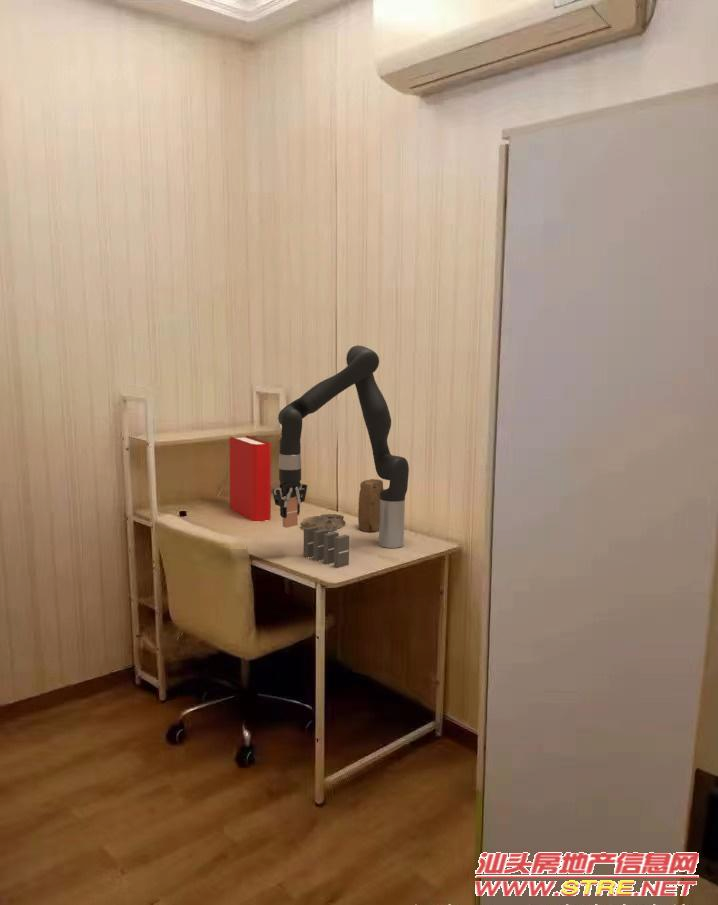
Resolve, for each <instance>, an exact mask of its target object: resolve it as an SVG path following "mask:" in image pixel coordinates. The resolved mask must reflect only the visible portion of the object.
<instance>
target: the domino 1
mask: <svg viewBox="0 0 718 905" xmlns="http://www.w3.org/2000/svg"><path fill="white" fill-rule="evenodd" d="M284 498H286V497H285V496H284ZM283 503H284V500H283ZM297 505H298V502H297V498H296V497H295V496H291V497H290V499H289V501H288V502H287V506H286V507H287V517H286V518H283V517H282V527H283V528H287V529H288V528H292V527H296V526H298V525H299V524H298V520H299V518H298V516H299V515H297Z"/></svg>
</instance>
